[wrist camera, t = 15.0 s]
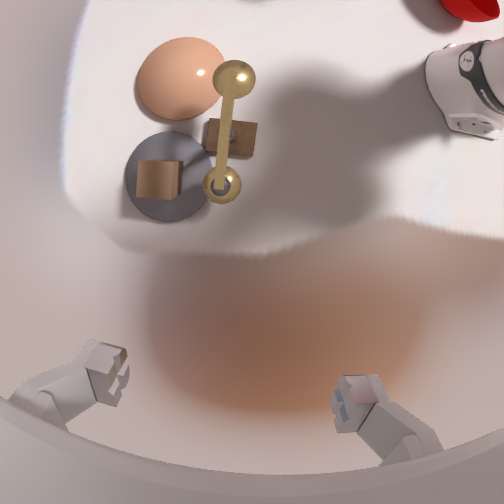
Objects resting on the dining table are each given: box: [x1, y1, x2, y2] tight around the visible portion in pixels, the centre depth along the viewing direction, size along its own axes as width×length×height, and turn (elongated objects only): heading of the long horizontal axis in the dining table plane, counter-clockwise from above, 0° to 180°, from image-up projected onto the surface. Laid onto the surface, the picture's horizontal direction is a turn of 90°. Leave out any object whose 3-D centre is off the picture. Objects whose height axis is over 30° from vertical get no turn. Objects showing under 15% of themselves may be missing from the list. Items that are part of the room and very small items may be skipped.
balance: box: [203, 60, 257, 204], centre depth 34 cm, size 7×18×14 cm, turn 172°
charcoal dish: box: [126, 132, 212, 222], centre depth 42 cm, size 14×14×1 cm
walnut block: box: [136, 159, 184, 200], centre depth 39 cm, size 5×5×6 cm
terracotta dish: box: [137, 37, 225, 120], centre depth 37 cm, size 14×14×1 cm
